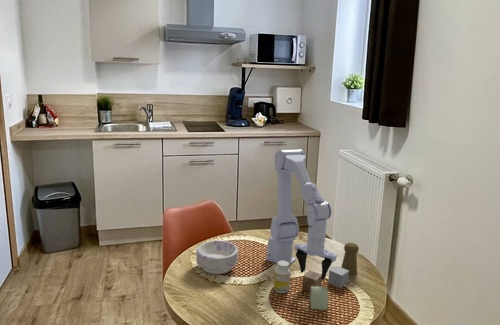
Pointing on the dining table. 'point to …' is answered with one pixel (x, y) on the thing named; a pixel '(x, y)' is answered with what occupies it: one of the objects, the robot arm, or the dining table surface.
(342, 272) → the slate grey block
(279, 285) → the supplement bottle
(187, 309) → the dining table surface
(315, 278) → the walnut block
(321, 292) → the sage green block
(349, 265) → the olive brown rounded piece
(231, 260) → the white purple bowl
